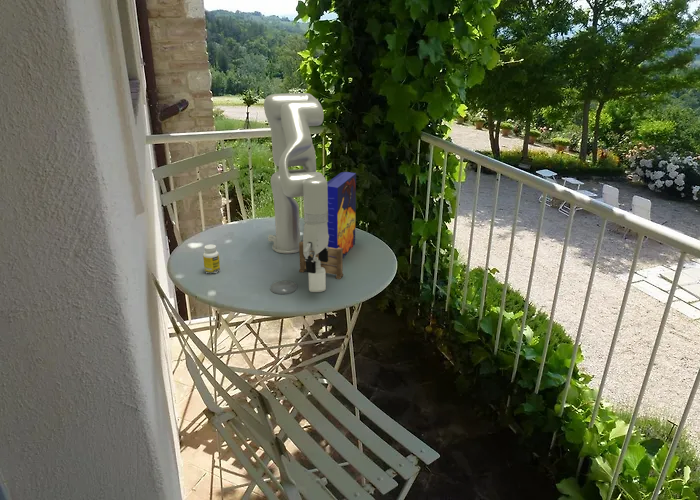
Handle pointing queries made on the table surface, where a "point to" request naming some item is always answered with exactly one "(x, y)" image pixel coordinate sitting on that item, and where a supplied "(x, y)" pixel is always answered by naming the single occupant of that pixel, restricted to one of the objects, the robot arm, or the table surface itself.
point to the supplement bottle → (211, 259)
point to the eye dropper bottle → (317, 278)
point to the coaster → (283, 287)
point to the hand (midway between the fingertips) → (317, 266)
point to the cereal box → (342, 211)
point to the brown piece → (335, 260)
